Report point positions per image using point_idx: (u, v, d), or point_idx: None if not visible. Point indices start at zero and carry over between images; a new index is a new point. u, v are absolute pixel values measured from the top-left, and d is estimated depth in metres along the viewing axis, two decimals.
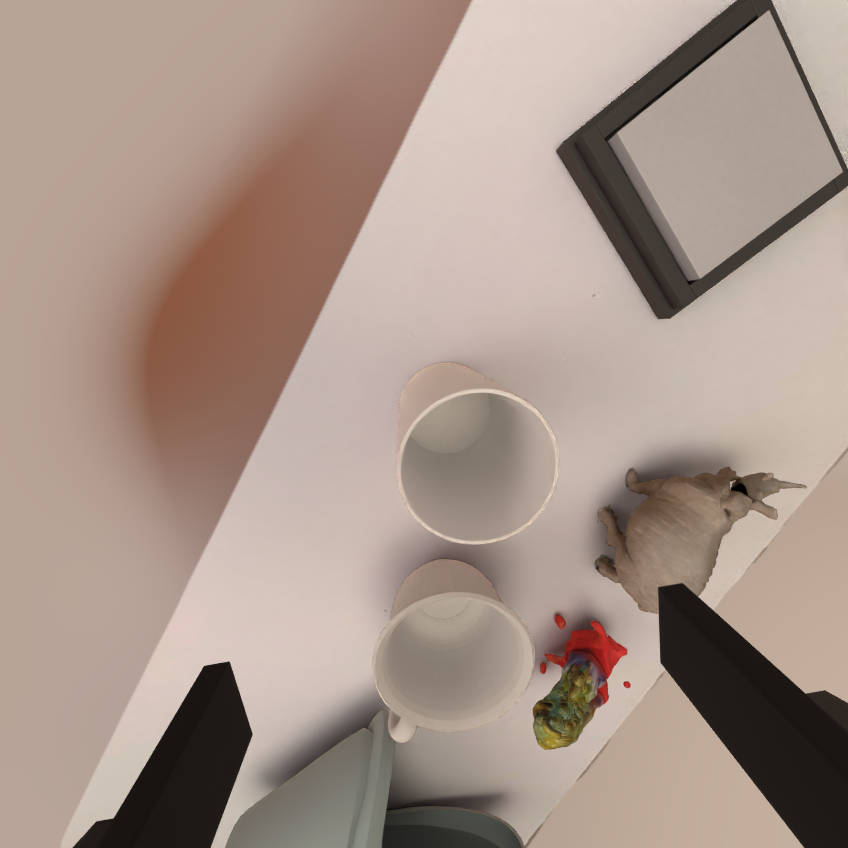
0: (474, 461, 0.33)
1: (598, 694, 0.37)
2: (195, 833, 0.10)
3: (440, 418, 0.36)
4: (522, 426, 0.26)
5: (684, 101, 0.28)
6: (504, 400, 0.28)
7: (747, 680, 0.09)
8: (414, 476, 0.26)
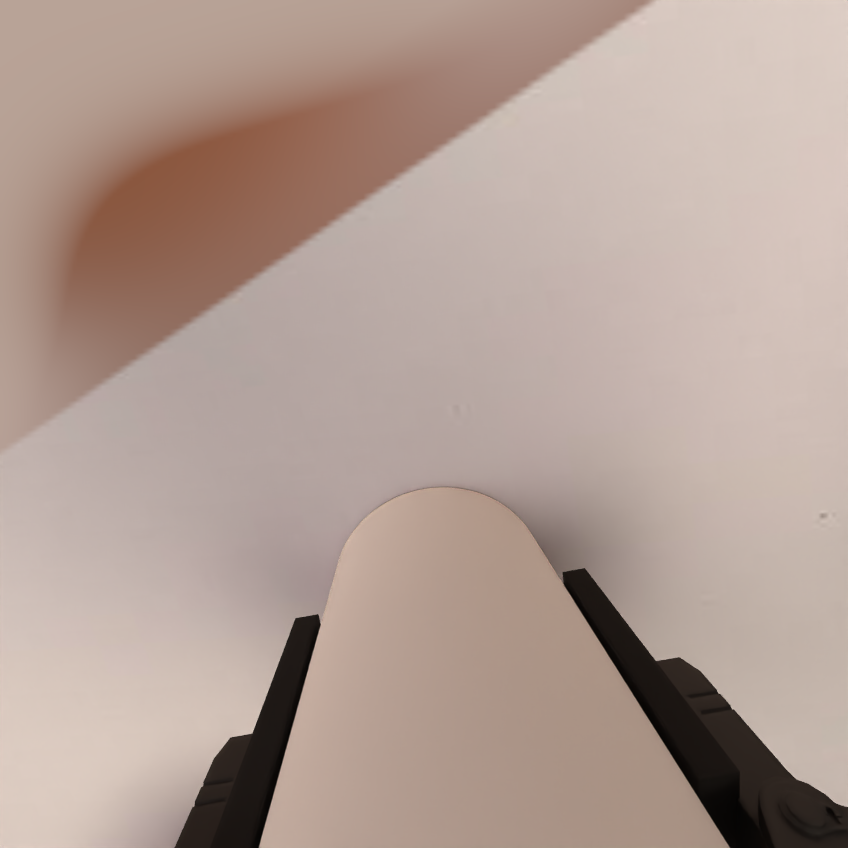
0: None
1: None
2: None
3: None
4: None
5: None
6: None
7: (611, 648, 0.11)
8: None
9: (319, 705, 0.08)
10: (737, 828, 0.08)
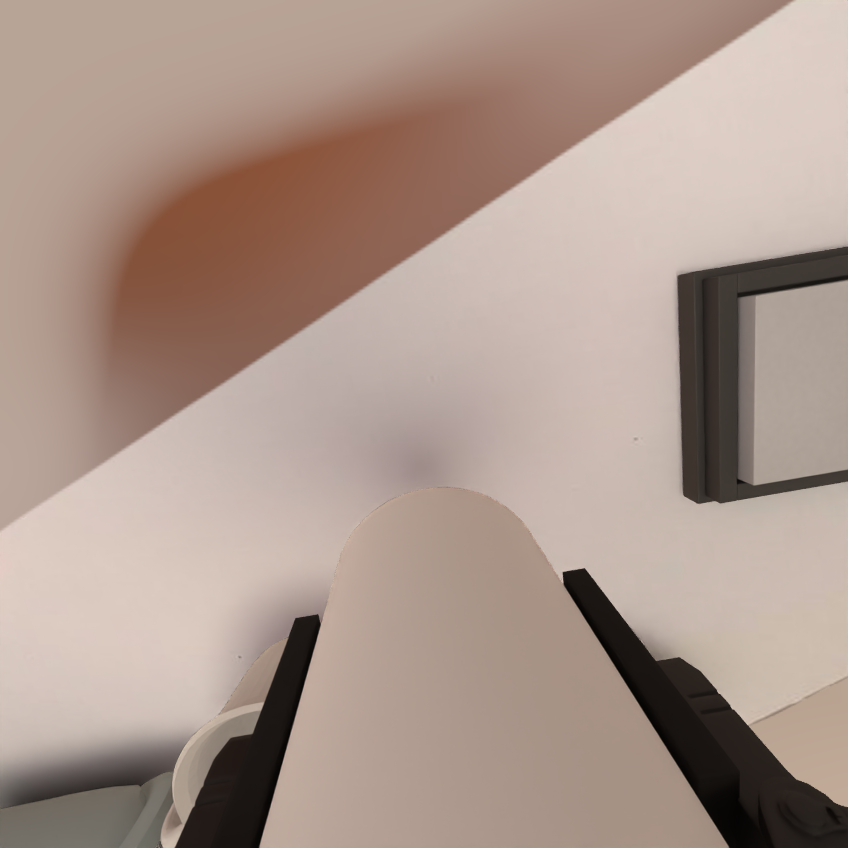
0: None
1: None
2: None
3: None
4: None
5: (833, 303, 0.25)
6: None
7: (611, 648, 0.11)
8: None
9: (320, 704, 0.08)
10: (737, 828, 0.08)
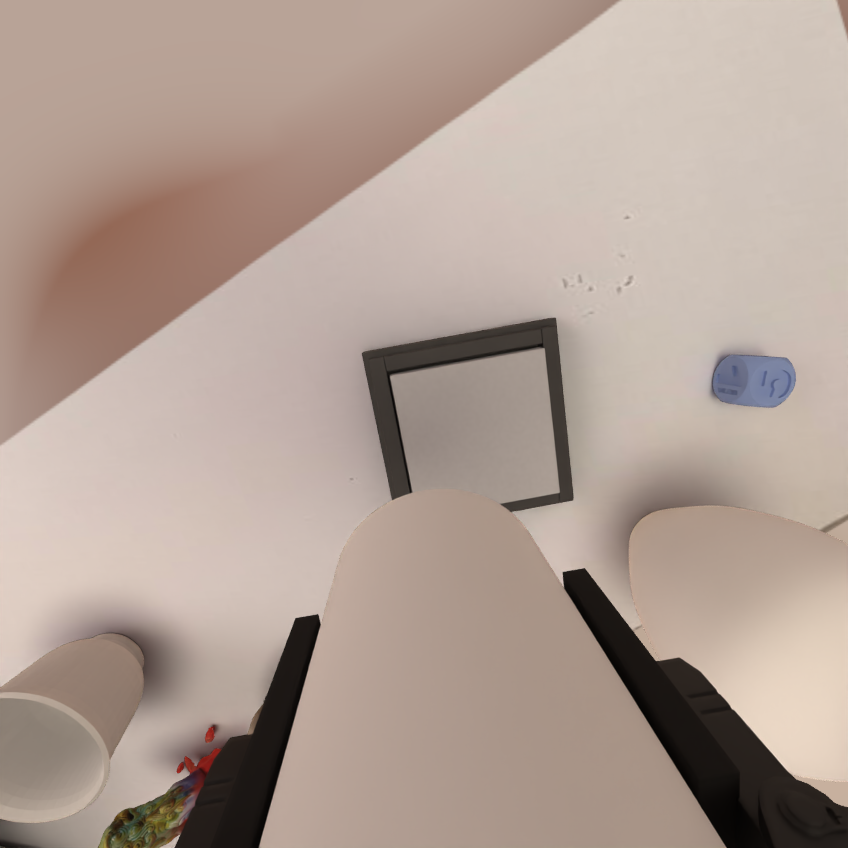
0: None
1: None
2: None
3: None
4: None
5: (453, 380, 0.32)
6: None
7: (611, 648, 0.11)
8: None
9: (318, 707, 0.08)
10: (737, 828, 0.08)
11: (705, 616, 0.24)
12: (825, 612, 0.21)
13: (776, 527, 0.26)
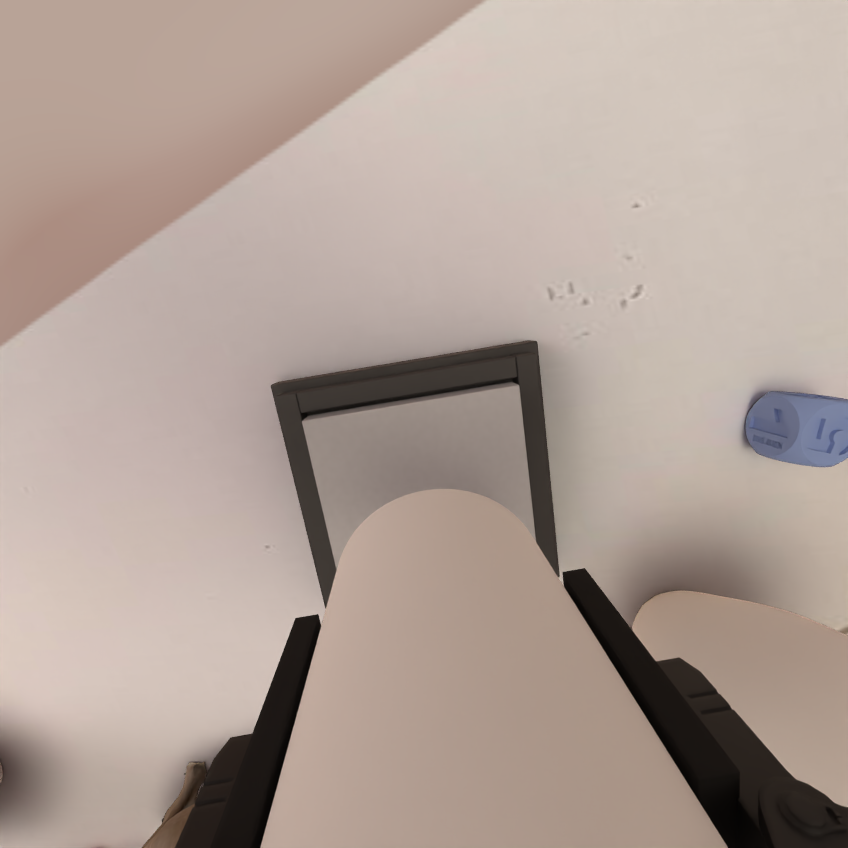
0: None
1: None
2: None
3: None
4: None
5: (392, 428, 0.23)
6: None
7: (611, 648, 0.11)
8: None
9: (320, 708, 0.08)
10: (737, 828, 0.08)
11: None
12: None
13: None
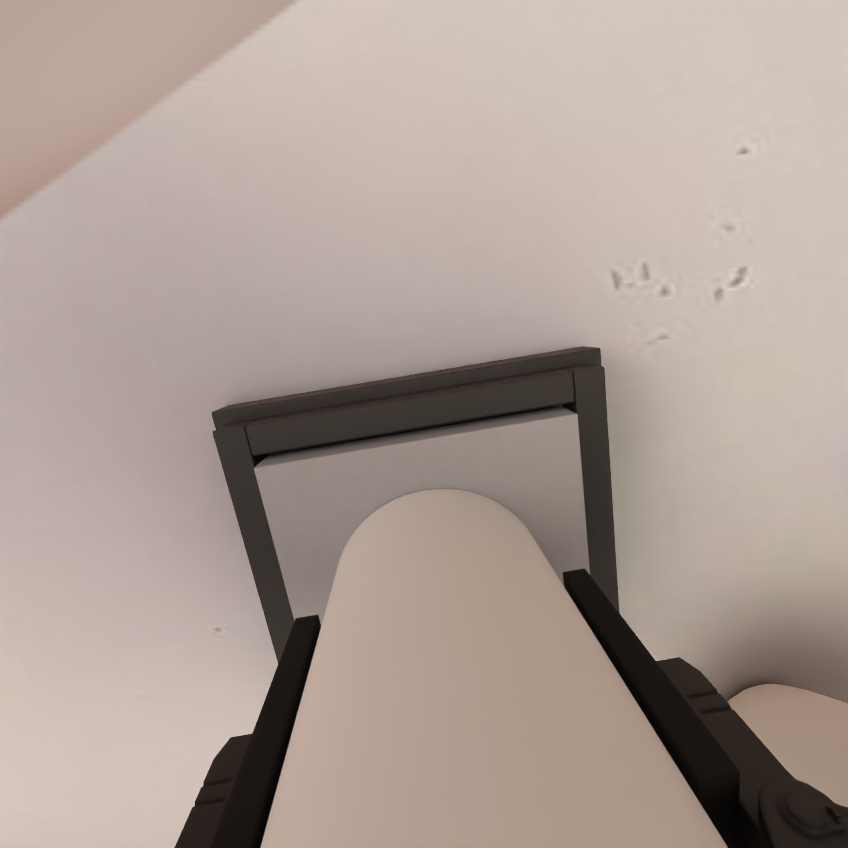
0: None
1: None
2: None
3: None
4: None
5: (388, 477, 0.15)
6: None
7: (611, 648, 0.11)
8: None
9: (320, 707, 0.08)
10: (737, 828, 0.08)
11: None
12: None
13: None
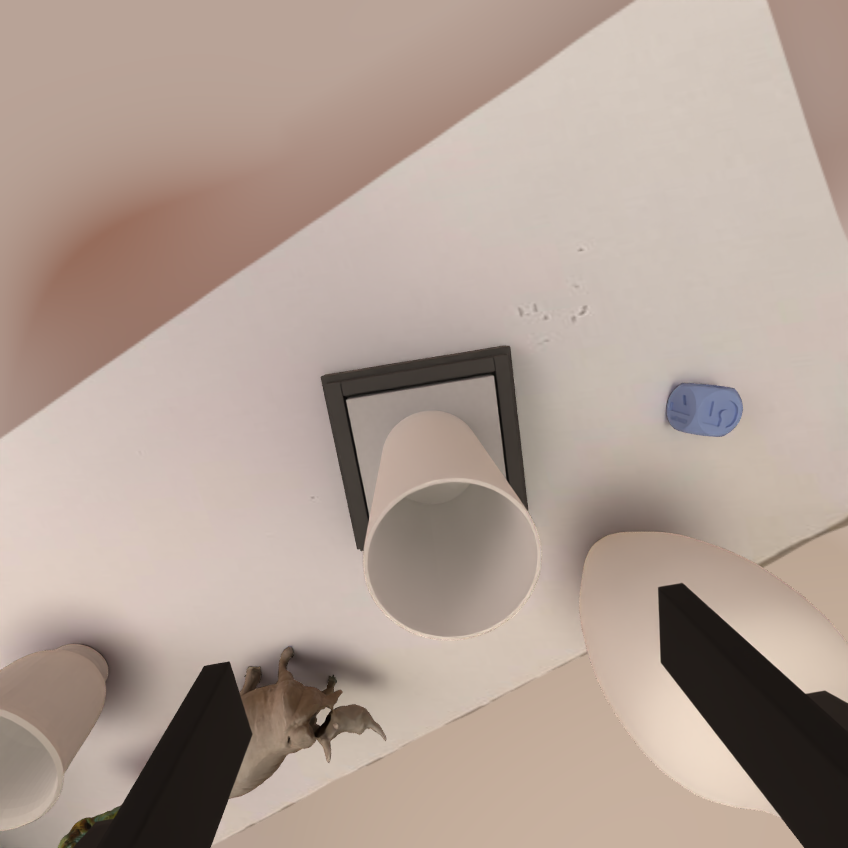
0: (435, 525, 0.31)
1: None
2: (195, 833, 0.10)
3: None
4: (504, 526, 0.25)
5: (407, 404, 0.33)
6: None
7: (747, 680, 0.09)
8: None
9: (390, 454, 0.26)
10: None
11: (633, 645, 0.25)
12: None
13: (708, 558, 0.27)
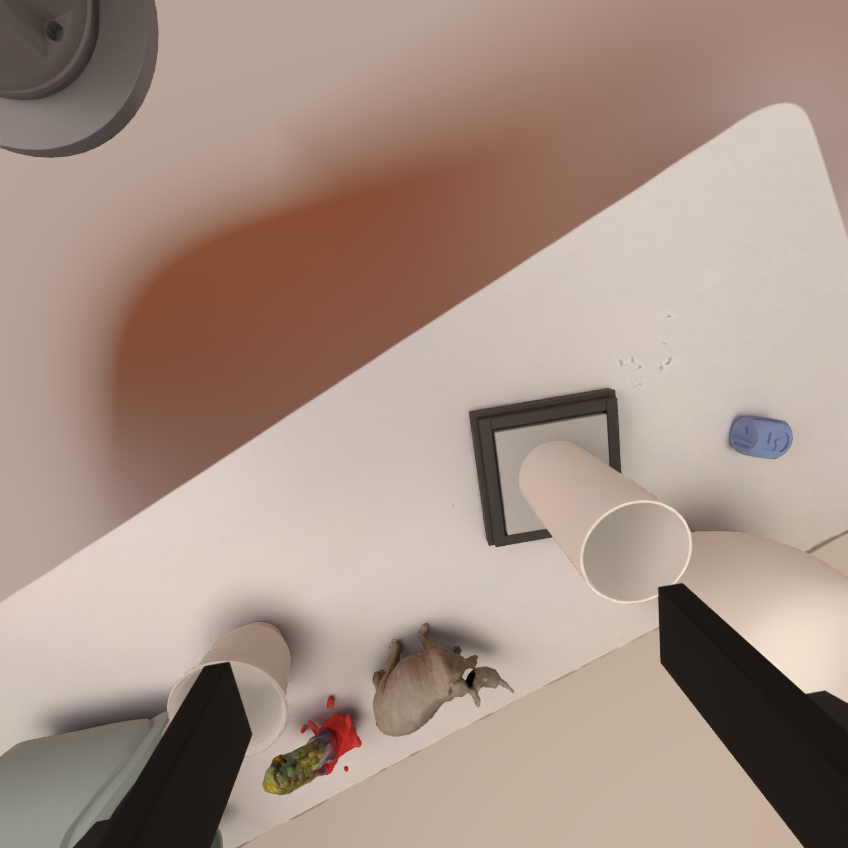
0: None
1: (325, 766, 0.50)
2: (195, 833, 0.10)
3: None
4: (641, 529, 0.35)
5: (540, 436, 0.44)
6: None
7: (747, 680, 0.09)
8: None
9: (555, 478, 0.37)
10: None
11: (728, 611, 0.36)
12: (809, 609, 0.33)
13: (777, 550, 0.38)
